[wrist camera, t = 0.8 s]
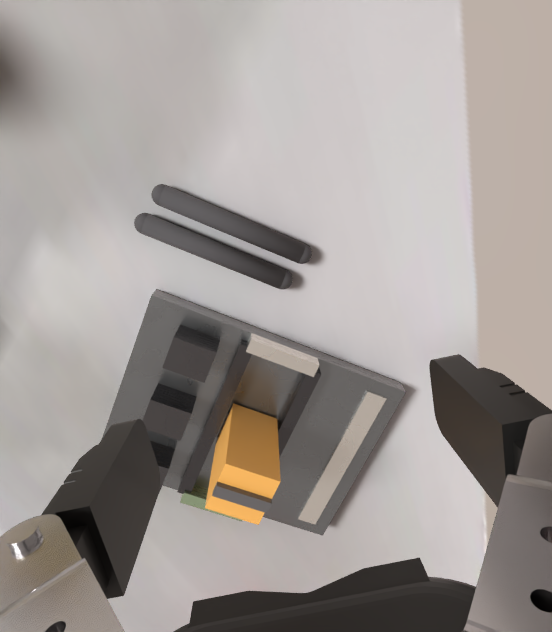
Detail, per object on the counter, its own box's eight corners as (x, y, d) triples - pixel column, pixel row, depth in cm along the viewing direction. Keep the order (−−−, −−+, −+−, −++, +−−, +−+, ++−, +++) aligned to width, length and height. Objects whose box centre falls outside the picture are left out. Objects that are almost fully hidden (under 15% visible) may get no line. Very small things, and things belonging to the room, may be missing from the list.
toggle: (232, 403, 33) (224, 468, 26) (277, 418, 33) (280, 486, 26) (216, 441, 34) (204, 513, 27) (259, 455, 34) (258, 529, 28)
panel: (156, 289, 32) (142, 305, 28) (400, 382, 35) (416, 408, 31) (100, 451, 36) (81, 484, 32) (320, 521, 39) (326, 559, 35)
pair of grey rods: (151, 177, 29) (145, 178, 28) (313, 246, 31) (316, 249, 30) (135, 228, 30) (129, 231, 29) (293, 291, 32) (294, 297, 31)
